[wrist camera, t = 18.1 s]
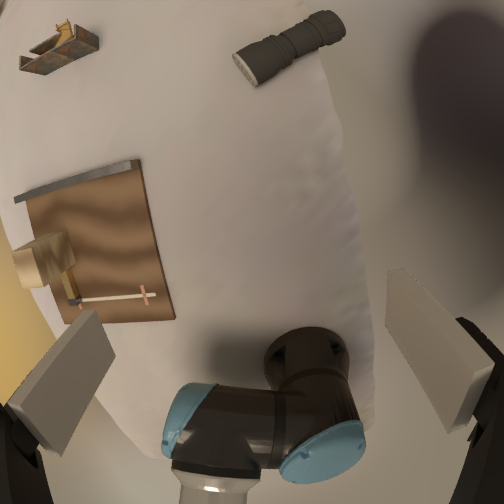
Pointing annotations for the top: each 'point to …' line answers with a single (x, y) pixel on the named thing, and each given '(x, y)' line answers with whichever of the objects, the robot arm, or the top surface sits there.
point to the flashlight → (288, 46)
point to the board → (105, 244)
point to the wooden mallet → (48, 263)
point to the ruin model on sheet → (60, 49)
